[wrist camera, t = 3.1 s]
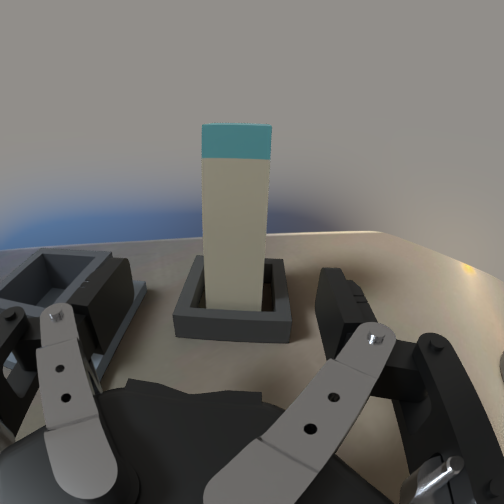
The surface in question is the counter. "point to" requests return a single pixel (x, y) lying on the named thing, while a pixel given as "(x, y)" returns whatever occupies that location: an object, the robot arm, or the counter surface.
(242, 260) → the plug
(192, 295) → the gray square frame
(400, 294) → the counter surface
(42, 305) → the port
